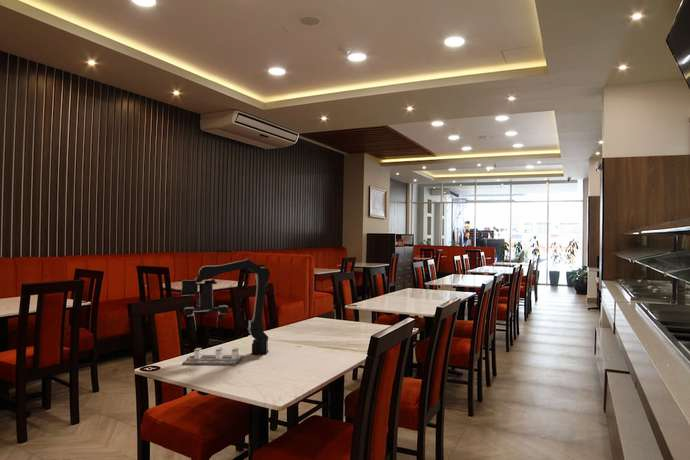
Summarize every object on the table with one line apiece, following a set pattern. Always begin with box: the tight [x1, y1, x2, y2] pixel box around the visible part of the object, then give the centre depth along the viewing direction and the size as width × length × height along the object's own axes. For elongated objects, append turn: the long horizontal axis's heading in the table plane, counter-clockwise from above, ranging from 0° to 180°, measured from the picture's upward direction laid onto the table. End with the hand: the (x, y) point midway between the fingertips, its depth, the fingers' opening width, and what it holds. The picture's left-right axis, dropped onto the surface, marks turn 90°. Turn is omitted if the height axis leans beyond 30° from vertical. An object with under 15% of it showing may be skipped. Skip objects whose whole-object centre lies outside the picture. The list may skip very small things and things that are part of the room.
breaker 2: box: [215, 347, 224, 359], centre depth 198 cm, size 2×3×4 cm, turn 178°
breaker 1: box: [193, 347, 203, 359], centre depth 198 cm, size 2×3×4 cm, turn 178°
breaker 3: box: [231, 347, 239, 359], centre depth 198 cm, size 2×3×4 cm, turn 178°
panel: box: [182, 354, 245, 366], centre depth 198 cm, size 22×13×2 cm, turn 88°
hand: (206, 329), depth 203 cm, fingers open, 9 cm apart
